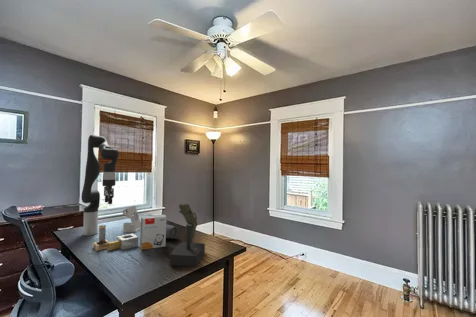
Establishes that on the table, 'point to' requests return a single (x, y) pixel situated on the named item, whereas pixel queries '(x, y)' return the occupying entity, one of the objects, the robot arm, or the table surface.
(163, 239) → the hard drive box
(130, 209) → the phone holder
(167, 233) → the bluetooth speaker
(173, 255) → the joystick
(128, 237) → the socket block
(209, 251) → the table surface
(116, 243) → the bar
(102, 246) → the wooden square frame
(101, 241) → the grey metal cylinder
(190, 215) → the olive green upright piece
